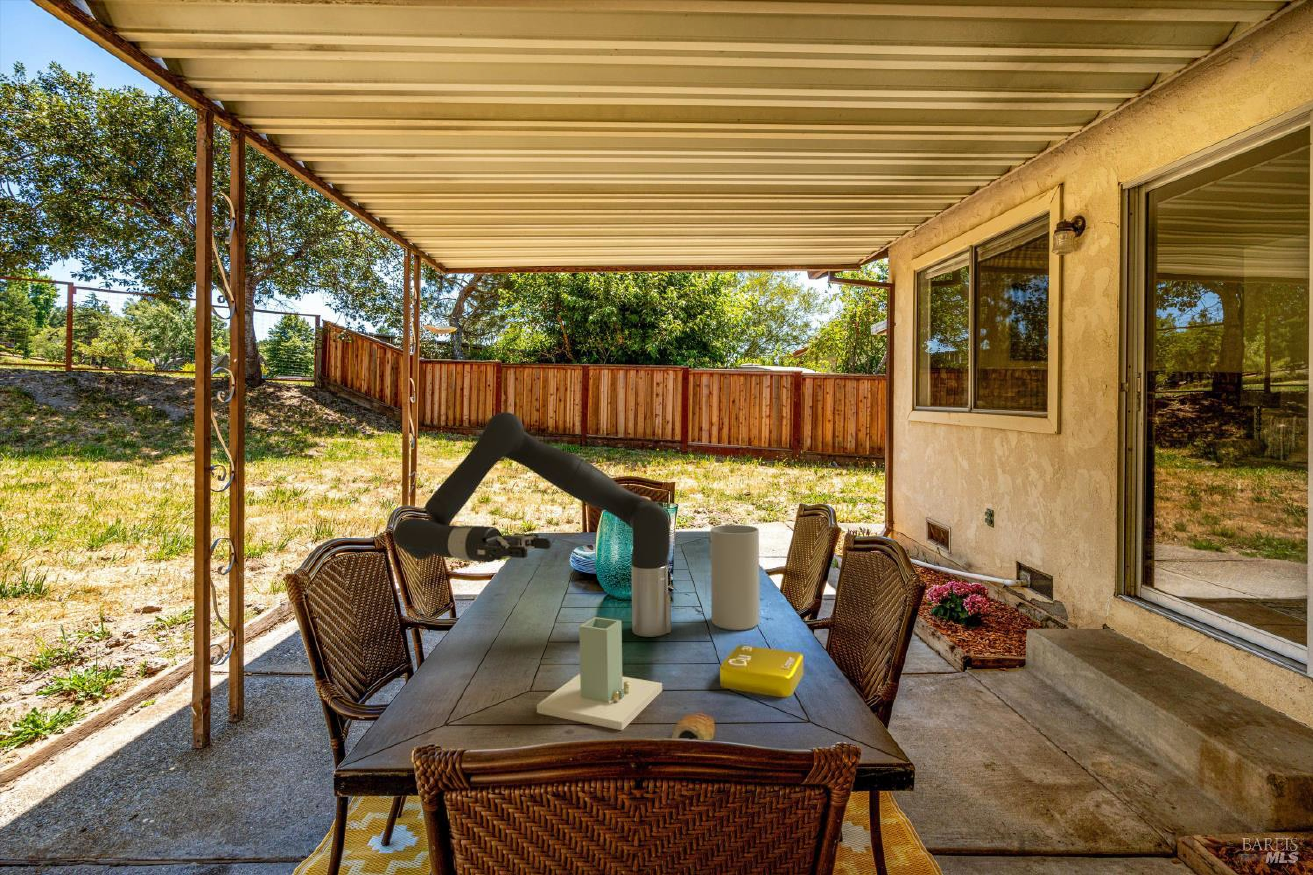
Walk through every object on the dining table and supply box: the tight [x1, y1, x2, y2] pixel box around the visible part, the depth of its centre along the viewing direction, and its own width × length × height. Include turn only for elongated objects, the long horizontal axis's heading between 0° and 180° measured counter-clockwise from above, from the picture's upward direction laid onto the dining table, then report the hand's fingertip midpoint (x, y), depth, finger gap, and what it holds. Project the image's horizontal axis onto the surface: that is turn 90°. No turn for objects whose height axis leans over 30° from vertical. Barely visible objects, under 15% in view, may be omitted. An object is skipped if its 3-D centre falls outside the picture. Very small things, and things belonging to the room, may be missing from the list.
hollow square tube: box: [578, 616, 624, 703], centre depth 130 cm, size 8×6×14 cm
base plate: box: [536, 673, 663, 731], centre depth 131 cm, size 18×18×9 cm
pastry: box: [670, 712, 716, 741], centre depth 117 cm, size 9×7×4 cm
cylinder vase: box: [710, 524, 760, 631], centre depth 176 cm, size 12×12×25 cm
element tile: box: [719, 644, 804, 698], centre depth 141 cm, size 15×15×5 cm
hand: (538, 547), depth 138 cm, fingers open, 8 cm apart
